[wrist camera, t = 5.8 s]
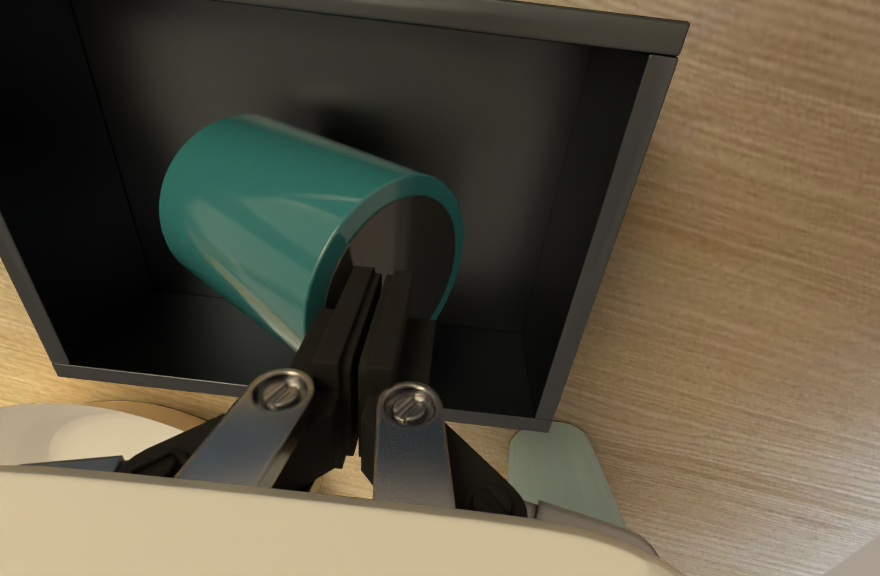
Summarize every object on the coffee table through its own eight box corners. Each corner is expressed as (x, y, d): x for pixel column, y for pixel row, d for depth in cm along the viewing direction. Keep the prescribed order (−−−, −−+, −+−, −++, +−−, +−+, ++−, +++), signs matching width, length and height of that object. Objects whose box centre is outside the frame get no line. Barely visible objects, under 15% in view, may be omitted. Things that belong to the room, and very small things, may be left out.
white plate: (382, 460, 32) (373, 508, 29) (263, 591, 44) (247, 635, 41) (6, 296, 26) (-56, 334, 23) (-15, 499, 38) (-57, 543, 35)
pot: (181, 310, 17) (312, 425, 13) (133, 124, 14) (295, 208, 10) (326, 254, 22) (453, 327, 18) (320, 106, 18) (478, 156, 14)
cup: (468, 446, 31) (468, 624, 22) (555, 389, 27) (596, 571, 19) (541, 495, 33) (568, 672, 24) (629, 448, 30) (697, 633, 21)
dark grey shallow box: (50, -52, 17) (-168, -82, 11) (617, 17, 17) (692, 22, 11) (151, 292, 25) (57, 376, 19) (530, 336, 25) (548, 433, 20)
